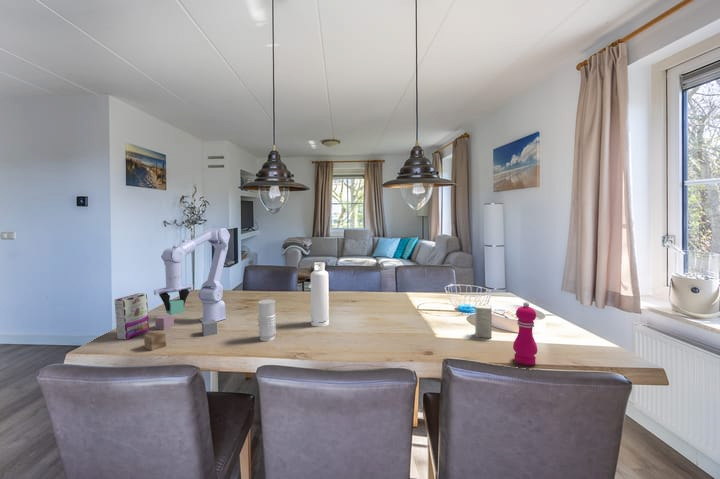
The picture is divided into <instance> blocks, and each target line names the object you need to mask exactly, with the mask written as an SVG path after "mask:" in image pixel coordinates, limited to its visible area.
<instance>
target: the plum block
mask: <svg viewBox="0 0 720 479" xmlns="http://www.w3.org/2000/svg"><path fill="white" fill-rule="evenodd" d="M154 322H155V330H161V331H165V329H166V330H168V329H171V328H174V327H175V315H170V314H163V315H160V316H156V317H155V321H154ZM173 326H174V327H173Z"/></svg>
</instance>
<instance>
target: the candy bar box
mask: <svg viewBox="0 0 720 479" xmlns="http://www.w3.org/2000/svg"><path fill="white" fill-rule="evenodd" d="M147 295H148V294H147V293H143V292H142V293H141V292H139V293H134V294H130V295H126V296H123V297H120V298H115V299H114V308H115V309H114V311H115V312H114V313H115V325H116V326H115V327H116V336H117V337H116V339H118V340H123V341H125V340H126V341H127V340H129V339H132V338H134V337H137V336H139V335H142V334H145V333H147V332H149V331H150V324H149V308H148V307H149V306H148V304H149V303H148V296H147Z"/></svg>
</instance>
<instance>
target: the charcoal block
mask: <svg viewBox="0 0 720 479" xmlns="http://www.w3.org/2000/svg"><path fill="white" fill-rule="evenodd" d="M201 334H202V335H203V337H208V336H214V335H218V321H215V319H214V320H208V321H201Z"/></svg>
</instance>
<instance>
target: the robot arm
mask: <svg viewBox="0 0 720 479" xmlns="http://www.w3.org/2000/svg"><path fill="white" fill-rule="evenodd" d="M230 237H231V234H230V232H229V230H228V229H227V228H224V227H222V228H215V227H214V228H213V227H209V228H207V229H204V230H203V232H201V233H200V234H198V235H196V236H195V237H193V238H192V239H185V238H184V239H182V240H181V242H180V243H178V244H174V245H173V247H171V248H170V247H168V248H166V249H164V250H163V251H162V254H161V256H160V257H161V259H162V261H163V264H164V266H165V267H164V268H165V269H164V270H165V287H162V288H158V289H154V290H153V295H154V296H159V297H160V299H161V301H162V303H163V304H164V308H165V312H166V311H170V305H169V300H171V296H170V294H172V293H175V292H176V293H177V292H178V294H179V295H178V296H179V299H181V300H183V301H184V306H185V305H186V304H185V303H186V300H187V298H188V297H189V294H190V290H191V291H192V290H194V284H182V283H183V282H182V278H183V277H182V261H183V260H184V258H185V257H186V256H188V255H190V254H191V253H193V252H194V251H195V250H196V249H197V248H196V247H198V246H199V245H202V244H203V243H205V242H207V241H208V243H210V245H211V246H213V248H214V249H215V250H214V253H213V257H212V261H211V265H210V267H209V272H208V273H209V274H208V277H207V280H206V281H205V282H204V283H202V285H201V288H200V289H199V291H198V294H197V297H198V299H199V300H200V301H201V303H202V318H200V319H199V321H200V322H202V321H208V320H214V319H215V321H216V322H219V321H224V320H226V319H227V317H226V316H227V315H226V303H225V301H224V300H222V298H223V294H224V292H223V289H224V285H222V284H221V279H222V278H221V277H222V274H223V270H224V266H225V261H226V257H227V253H228V250H229V241H230Z"/></svg>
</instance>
